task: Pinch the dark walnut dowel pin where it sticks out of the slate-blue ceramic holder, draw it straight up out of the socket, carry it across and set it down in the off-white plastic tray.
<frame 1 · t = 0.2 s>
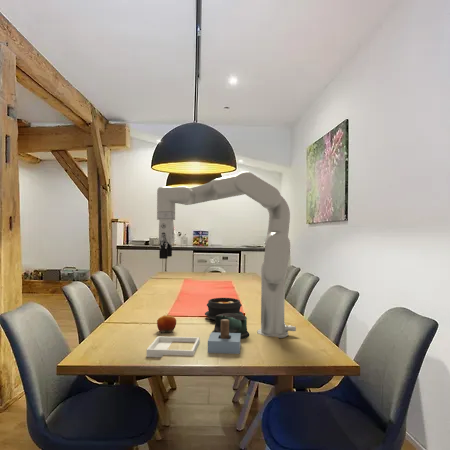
hand: (165, 257, 169), 31 cm above the table, tool pointing down, fingers open, 9 cm apart
casserole: (224, 318, 195), on the table
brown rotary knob: (230, 338, 163), on the table
fruit: (166, 332, 170), on the table
holder: (224, 350, 145), on the table
tray: (174, 350, 145), on the table
pin: (224, 348, 145), point 1 cm above the table, touching holder
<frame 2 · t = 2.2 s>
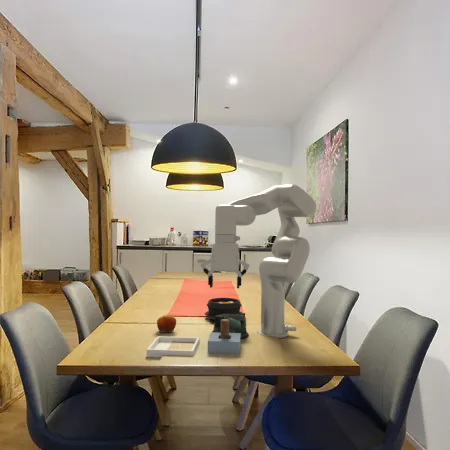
hand: (224, 287, 145), 23 cm above the table, tool pointing down, fingers open, 9 cm apart
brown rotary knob: (229, 338, 162), on the table
everything else where it was.
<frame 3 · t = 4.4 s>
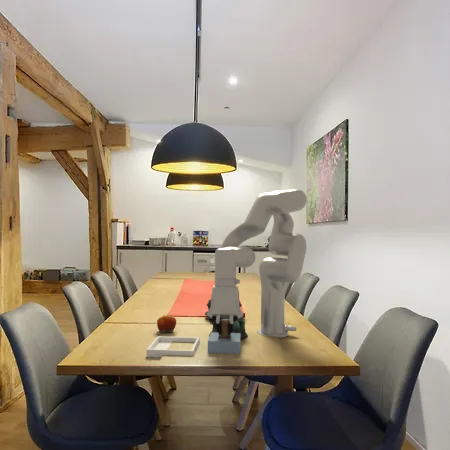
hand: (224, 333, 145), 6 cm above the table, tool pointing down, fingers closed on pin, 3 cm apart
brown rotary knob: (228, 339, 160), on the table
pin: (224, 348, 145), point 1 cm above the table, touching gripper, holder
everything else where it was.
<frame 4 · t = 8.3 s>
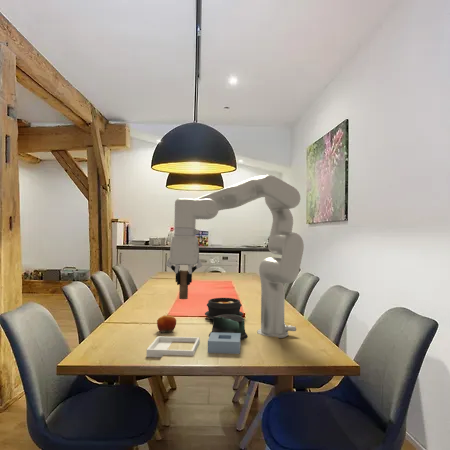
hand: (183, 284, 145), 24 cm above the table, tool pointing down, fingers closed on pin, 3 cm apart
pin: (183, 298, 145), point 19 cm above the table, touching gripper
everything else where it was.
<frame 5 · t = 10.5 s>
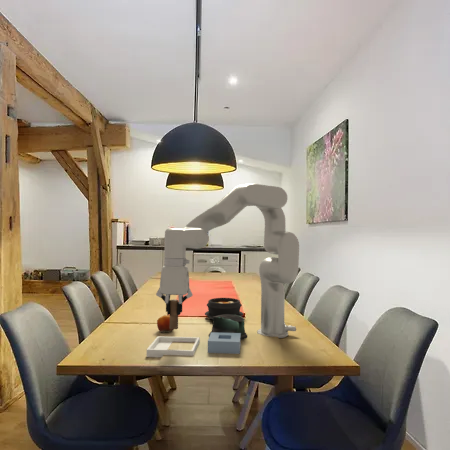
hand: (174, 313, 145), 13 cm above the table, tool pointing down, fingers closed on pin, 3 cm apart
pin: (173, 328, 145), point 8 cm above the table, touching gripper
everything else where it was.
when the fingers open (8 cm above the table, at t = 12.2 s): pin drops 2 cm, resting on tray.
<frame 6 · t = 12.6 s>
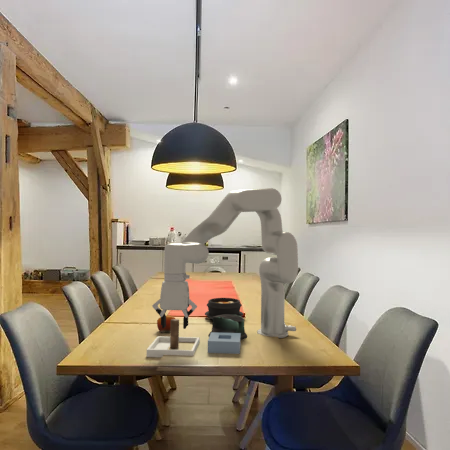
hand: (174, 327, 145), 8 cm above the table, tool pointing down, fingers open, 7 cm apart
pin: (174, 347, 145), point 1 cm above the table, touching tray
everything else where it was.
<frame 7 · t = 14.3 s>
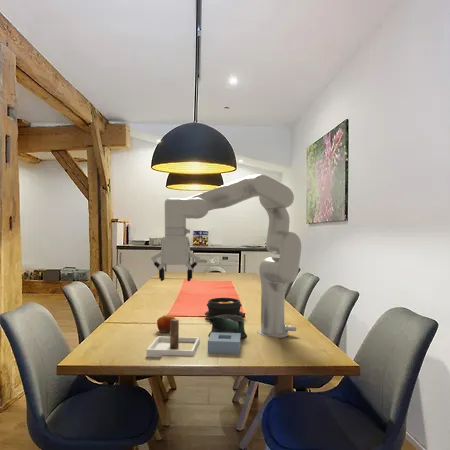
hand: (175, 280, 145), 25 cm above the table, tool pointing down, fingers open, 9 cm apart
nothing on the table moved.
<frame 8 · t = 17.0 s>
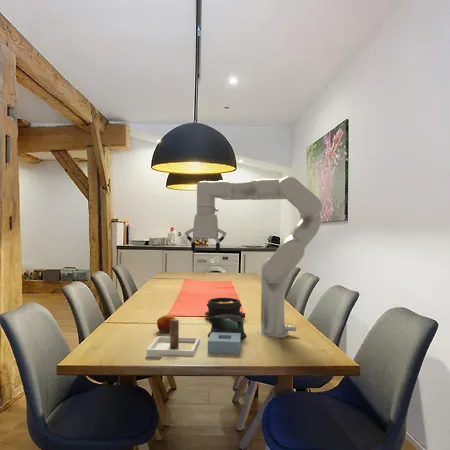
hand: (205, 252, 168), 33 cm above the table, tool pointing down, fingers open, 9 cm apart
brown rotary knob: (227, 339, 160), on the table, touching holder
everything else where it was.
at the end: pin inside the target area on the tray (0.0 cm from its centre), point 0.8 cm above the tray's base; the gripper is holding nothing; pin moved 18.1 cm from its start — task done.
